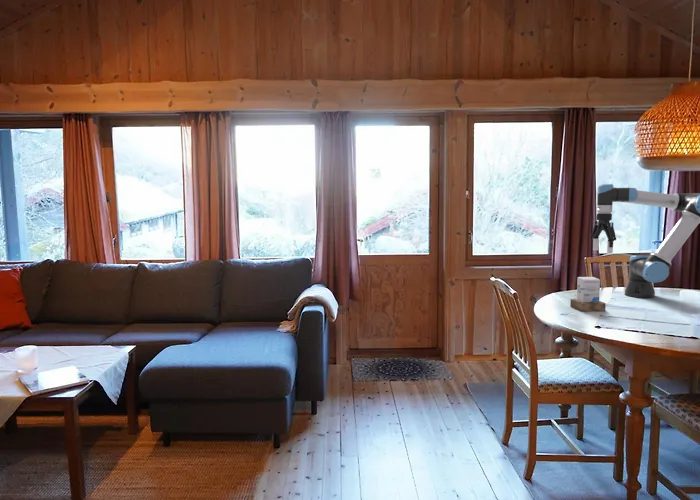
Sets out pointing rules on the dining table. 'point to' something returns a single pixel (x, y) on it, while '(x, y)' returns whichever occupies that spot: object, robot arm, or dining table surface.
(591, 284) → the ink box
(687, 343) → the dining table surface
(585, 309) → the walnut frame
